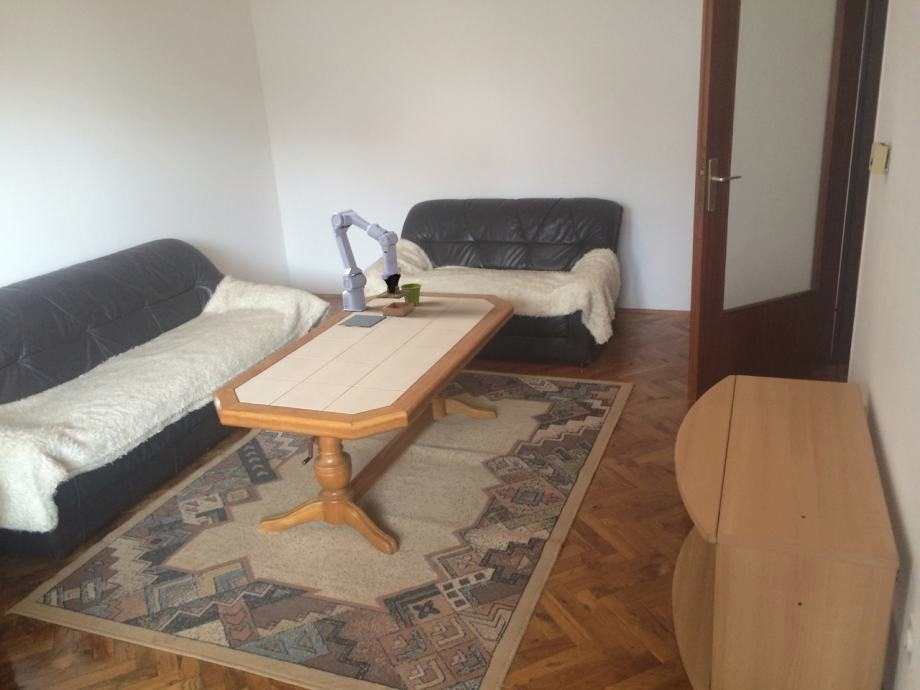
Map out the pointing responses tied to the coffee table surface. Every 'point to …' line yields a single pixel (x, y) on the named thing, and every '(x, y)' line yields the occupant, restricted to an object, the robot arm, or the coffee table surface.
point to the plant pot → (412, 293)
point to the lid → (396, 294)
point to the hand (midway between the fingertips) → (393, 291)
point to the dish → (398, 309)
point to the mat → (363, 320)
